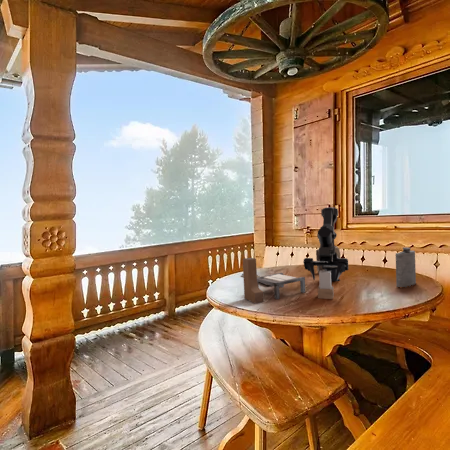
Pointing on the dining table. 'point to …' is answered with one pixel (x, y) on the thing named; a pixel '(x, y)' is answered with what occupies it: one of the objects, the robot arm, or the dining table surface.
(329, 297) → the stand
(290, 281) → the frame
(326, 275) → the gray rectangular block
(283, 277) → the trapdoor
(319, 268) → the mineral sample
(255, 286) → the wooden block
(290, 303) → the dining table surface
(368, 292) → the dining table surface
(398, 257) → the flask
